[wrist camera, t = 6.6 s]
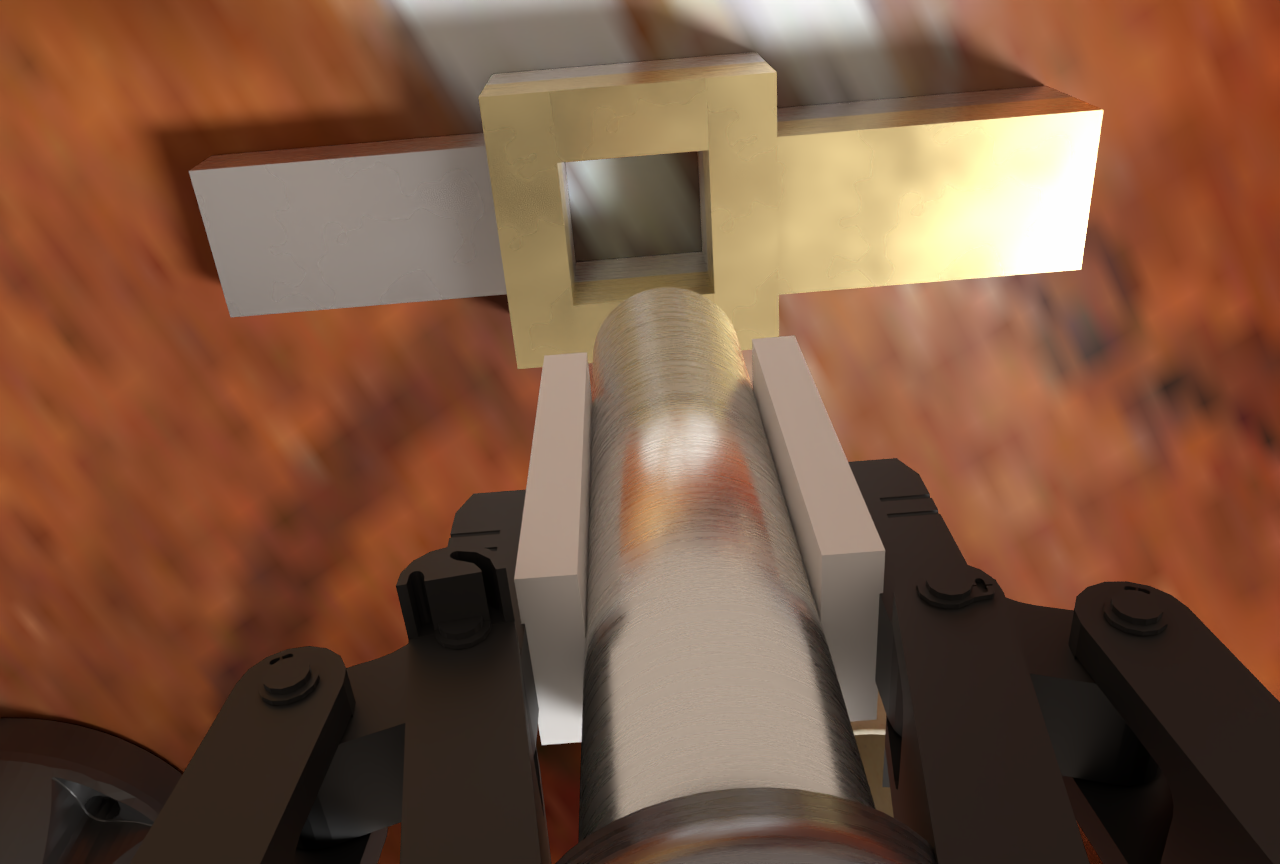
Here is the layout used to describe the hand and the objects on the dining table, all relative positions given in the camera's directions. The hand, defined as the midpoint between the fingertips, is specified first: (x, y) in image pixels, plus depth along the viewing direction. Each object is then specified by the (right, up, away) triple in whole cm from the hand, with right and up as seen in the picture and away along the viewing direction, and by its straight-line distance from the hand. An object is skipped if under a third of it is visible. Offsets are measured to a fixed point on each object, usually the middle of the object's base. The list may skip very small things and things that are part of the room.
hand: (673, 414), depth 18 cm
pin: (0, +1, +2) cm, 3 cm away
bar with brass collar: (-1, +7, +14) cm, 16 cm away
